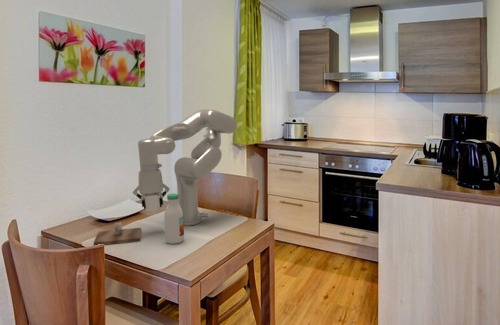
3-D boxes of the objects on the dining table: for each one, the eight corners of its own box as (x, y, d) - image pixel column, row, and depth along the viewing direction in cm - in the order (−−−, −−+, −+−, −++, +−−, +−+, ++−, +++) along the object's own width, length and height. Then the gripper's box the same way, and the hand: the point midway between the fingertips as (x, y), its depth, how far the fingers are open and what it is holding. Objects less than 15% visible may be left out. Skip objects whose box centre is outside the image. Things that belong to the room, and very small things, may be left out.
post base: (141, 230, 159) (140, 217, 158) (140, 241, 147) (139, 226, 146) (98, 234, 154) (97, 220, 153) (93, 246, 142) (92, 230, 141)
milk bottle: (175, 245, 142) (173, 197, 139) (161, 242, 146) (159, 195, 143) (188, 239, 148) (186, 193, 145) (174, 236, 152) (172, 191, 149)
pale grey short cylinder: (160, 206, 159) (158, 191, 158) (160, 211, 153) (159, 195, 152) (145, 208, 157) (144, 193, 156) (145, 212, 151) (144, 197, 150)
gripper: (169, 164, 157) (172, 202, 161) (128, 167, 153) (132, 207, 156) (170, 167, 150) (173, 207, 154) (127, 171, 146) (132, 212, 149)
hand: (152, 206), depth 155 cm, fingers closed on pale grey short cylinder, 6 cm apart
